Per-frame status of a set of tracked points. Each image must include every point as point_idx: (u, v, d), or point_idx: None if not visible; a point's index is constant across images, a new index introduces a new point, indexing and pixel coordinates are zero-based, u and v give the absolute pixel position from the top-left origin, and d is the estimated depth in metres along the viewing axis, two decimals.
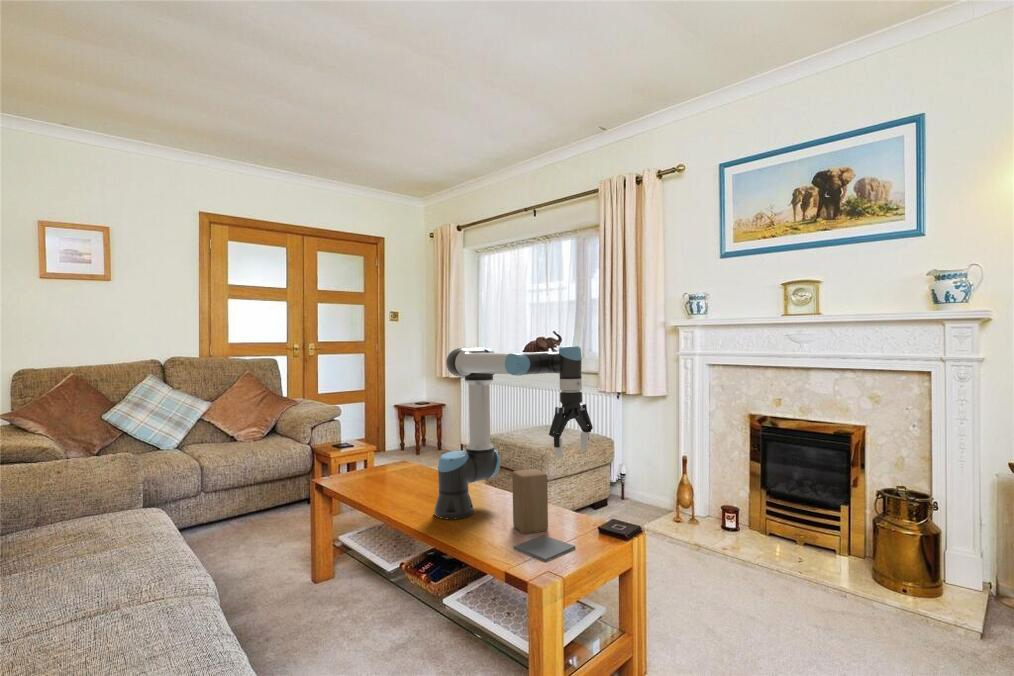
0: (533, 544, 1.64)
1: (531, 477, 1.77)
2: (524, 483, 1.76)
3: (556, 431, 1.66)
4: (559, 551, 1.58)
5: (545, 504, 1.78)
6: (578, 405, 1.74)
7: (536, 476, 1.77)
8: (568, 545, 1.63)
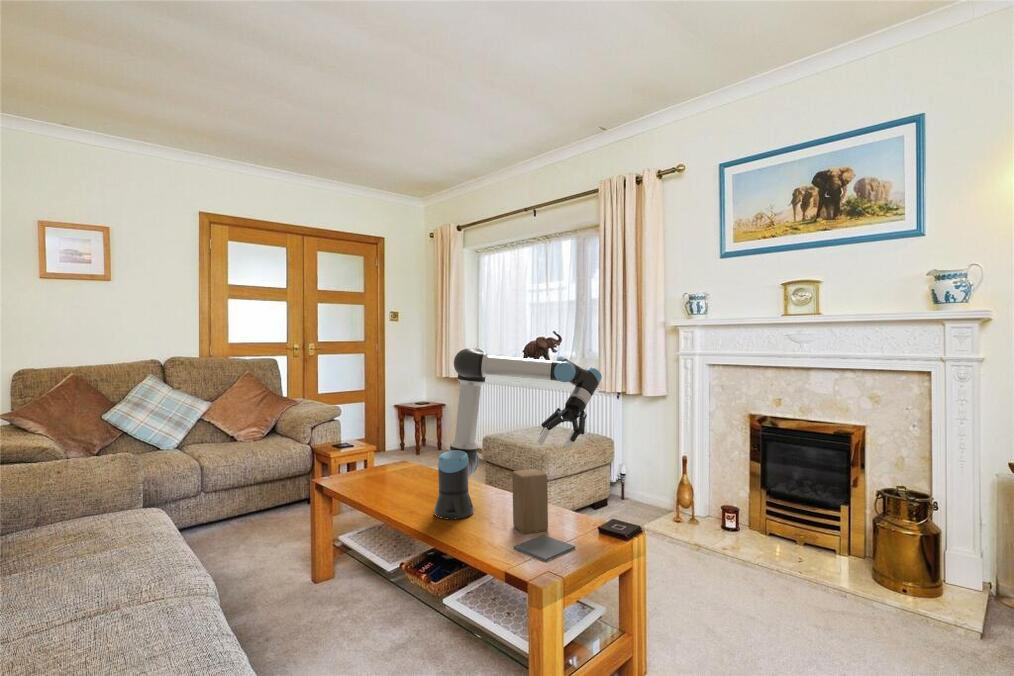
0: (533, 544, 1.64)
1: (531, 477, 1.77)
2: (524, 483, 1.76)
3: None
4: (559, 551, 1.58)
5: (545, 504, 1.78)
6: None
7: (536, 476, 1.77)
8: (568, 545, 1.63)
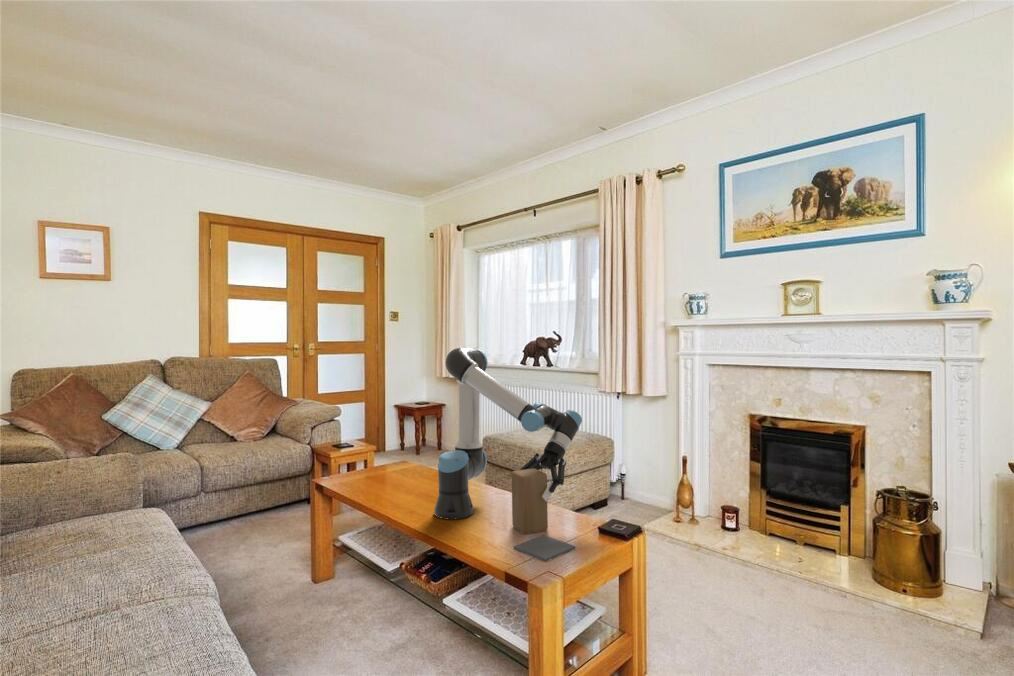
0: (533, 544, 1.64)
1: (531, 477, 1.77)
2: (524, 483, 1.75)
3: None
4: (559, 551, 1.58)
5: (545, 504, 1.78)
6: None
7: (536, 476, 1.77)
8: (568, 545, 1.63)
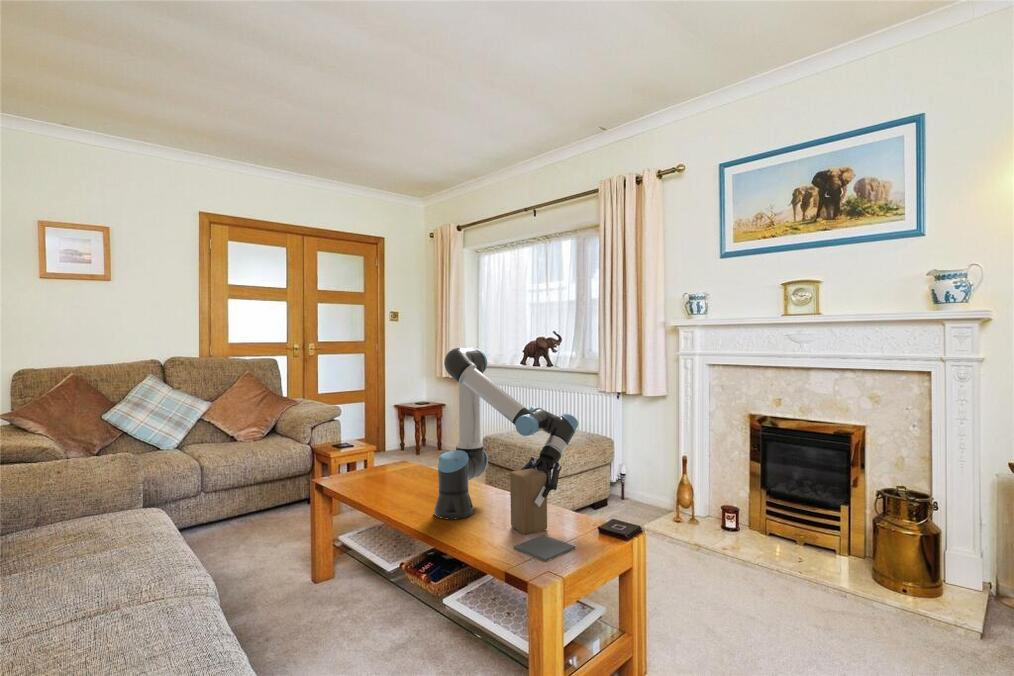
0: (533, 544, 1.64)
1: (531, 477, 1.76)
2: (525, 483, 1.75)
3: None
4: (559, 551, 1.58)
5: (544, 504, 1.79)
6: None
7: (536, 476, 1.77)
8: (568, 545, 1.63)
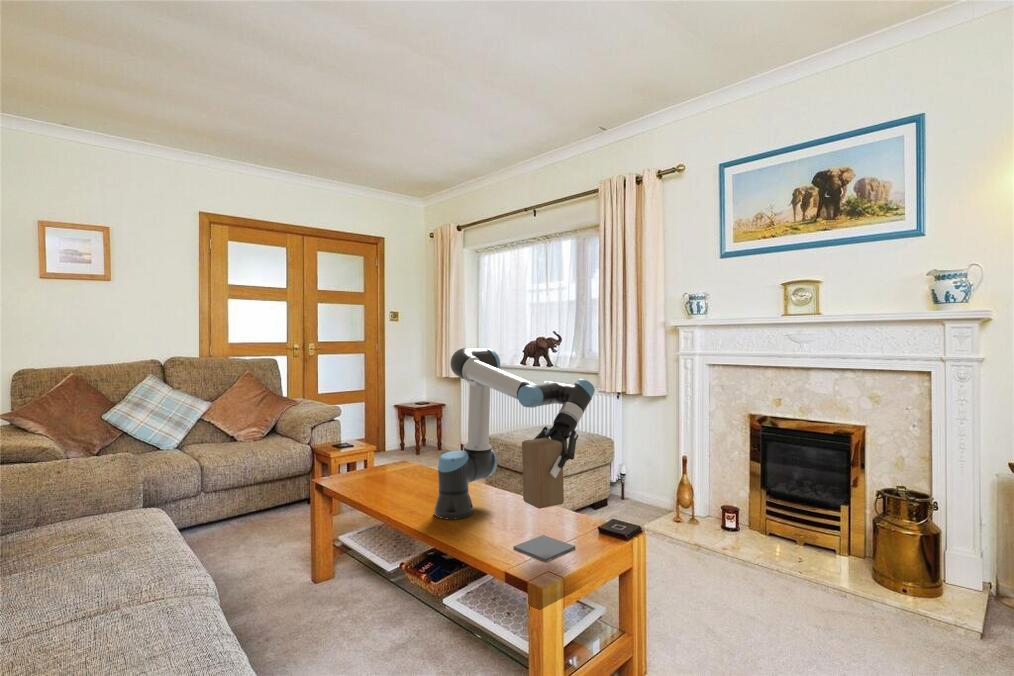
0: (533, 544, 1.64)
1: (546, 445, 1.59)
2: (540, 452, 1.58)
3: None
4: (559, 551, 1.58)
5: (561, 475, 1.61)
6: None
7: (551, 444, 1.60)
8: (568, 545, 1.63)
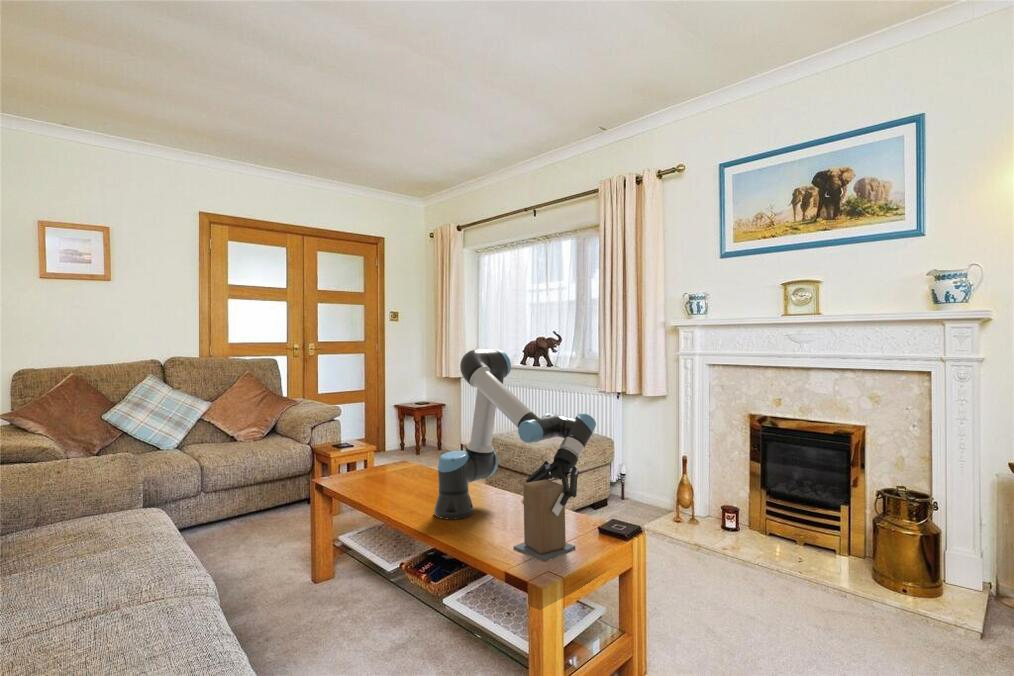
0: None
1: (549, 489, 1.58)
2: (542, 496, 1.56)
3: None
4: (559, 551, 1.58)
5: (563, 519, 1.60)
6: None
7: (554, 488, 1.59)
8: (568, 545, 1.63)
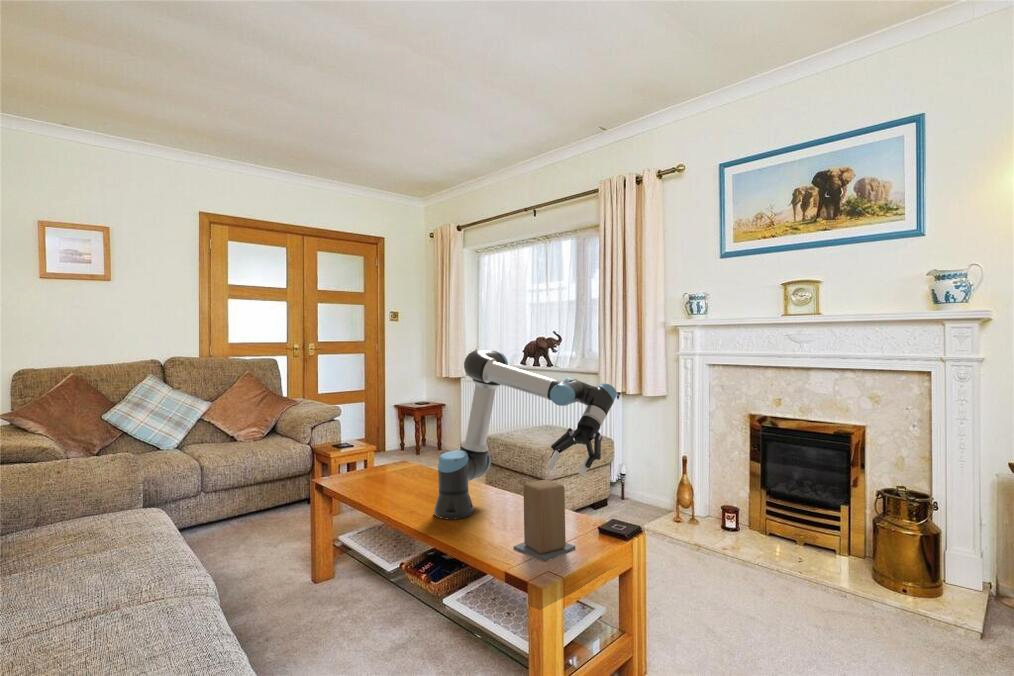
0: None
1: (549, 489, 1.58)
2: (542, 496, 1.56)
3: None
4: (559, 551, 1.58)
5: (563, 519, 1.60)
6: None
7: (554, 488, 1.59)
8: (568, 545, 1.63)
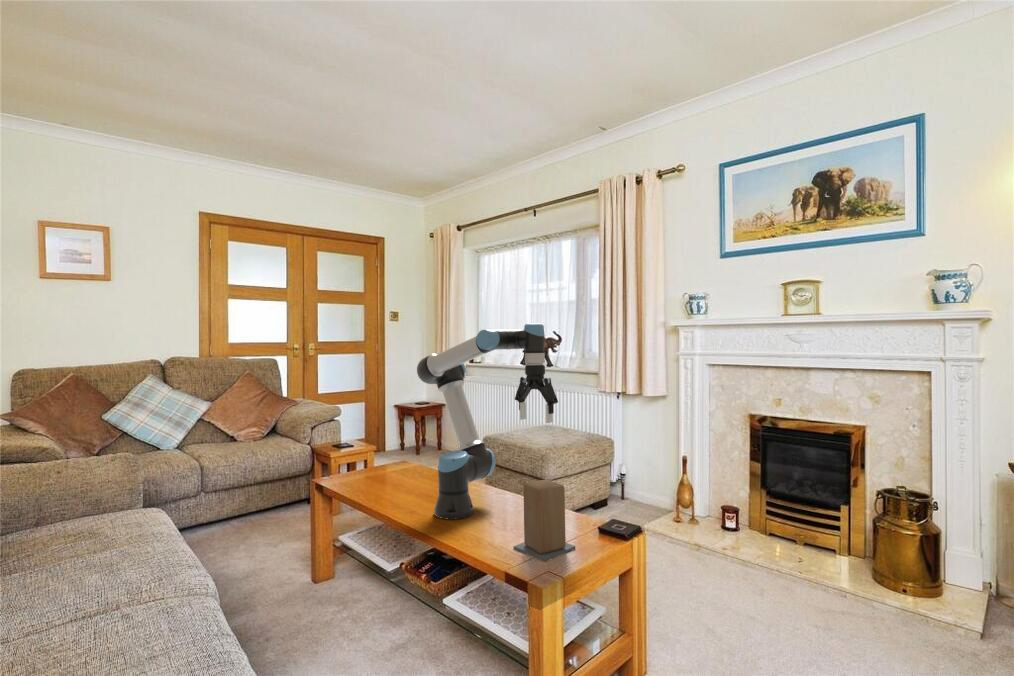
0: None
1: (549, 489, 1.58)
2: (542, 496, 1.56)
3: None
4: (559, 551, 1.58)
5: (563, 519, 1.60)
6: None
7: (554, 488, 1.59)
8: (568, 545, 1.63)
